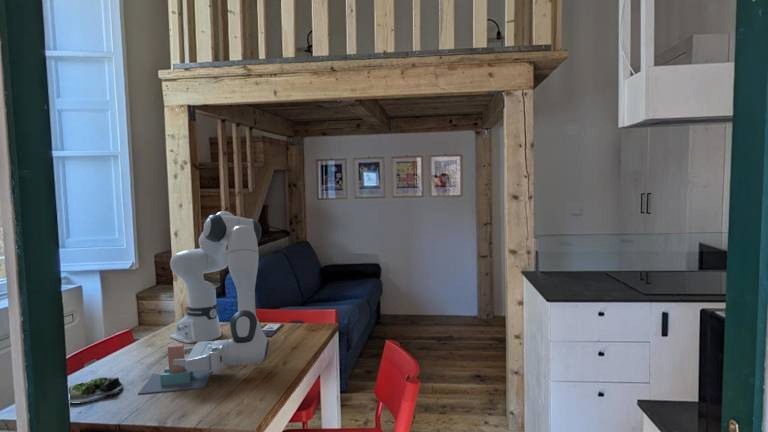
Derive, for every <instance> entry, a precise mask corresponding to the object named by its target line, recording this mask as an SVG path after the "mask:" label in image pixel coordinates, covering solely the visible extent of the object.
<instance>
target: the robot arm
mask: <svg viewBox="0 0 768 432" xmlns="http://www.w3.org/2000/svg"><path fill="white" fill-rule="evenodd" d="M261 237H262V226H261V224H260V222H259V221H257V220H255V219H252V218H246V217H242V216H236V215H234V214H233V213H232V212H229V211H226V210H225V211H224V210H222V211H219V212H217V213H216V214H210V215H208V217H207V218H206V219H205V221H204V223H203V230H202V232H201V234H200V236H199V238H198V246H199V248H193V249H186V250H181V251H178V252H176V253H173V255H172V256H171V258H170V261H169V266H170V270H171V272H172V273H173V274H174V275H175V276H177V277H179V278H180V279H181V280H182V281H183V283H184V284H185V285H186V286H185V287H186V289H187V295H188V303H189V304H188V305H189V306H185V308H184V310H185V311H186V314H185V316H183V317H182V318H181V319H180V320H178V321H177V323H176V325H175V332H174V333H172V334H170V335H169V336H170V337H169V338H170V339H173V340H176V341H179V342H182V343H184V344H185V343H186V344H193V343H195V345H194V346H190V347H187V348H184V356H186V355H188V356H187V357H184V359H180V358H175V359H174V360H173V365H181V366H185V367H186V371H191V372H193V371H208V370H210V369H211V371H212V373H213V372H218V371H219V370H220V369H223V368H225V367H231V366H233V365H239V366H241V365H242V366H244V365H253V364H258V363H261V362H263V361H265V360H266V358H267V357H268V354H269V348H270V340H269V337H266V336H265V334H264V333H263V331H262V325H261V322H260V321H259V319H258V317H257V312H256V293H255V291H256V282H257V275H258V271H259V270H258V268H259V246H258V242H259V241H260V239H261ZM226 247H227V249H226ZM227 267H228V271H229V274H230V278H231V279H232V281H233V284H234V286H235V289H236V294H237V295H236V296H237V312H235V313H234V314H233V315H232V317H231V319H230V322H229V330H230V333H231V338H229V339H219V338H220V337H221V336H222V335H223V334H222V328H221V327H220V326H221V325H220V320H219V314H218V312H219V311H218V308H219V307H218V303H217V294H216V293H217V292H216V286H215V285H214V284H213V283H212V282H210V281H207V280H205V278H204V274H208V273H214V272H219V271H222V270H224V269H226V268H227ZM216 339H217V340H216Z"/></svg>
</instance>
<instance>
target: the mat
mask: <svg viewBox="0 0 768 432" xmlns="http://www.w3.org/2000/svg"><path fill="white" fill-rule="evenodd" d="M212 373H213V372H212V371H211V369H210V370H208V371H194V376H193V377H191V382H190V383H184V384H173V385H163V386H161V381H160V375H161V374H162V373H154V374H152V375H150V377H149V378H148V380H147V381H146V382H145V384H144V385H143V386H142V388H140V390H139V392H138V394H137V395H147V394H160V393H170V392H180V391H188V390H189V391H190V390H200V389H205V388H206V386H207V384H208V382H209V380H210V377H211V375H212Z"/></svg>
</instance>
